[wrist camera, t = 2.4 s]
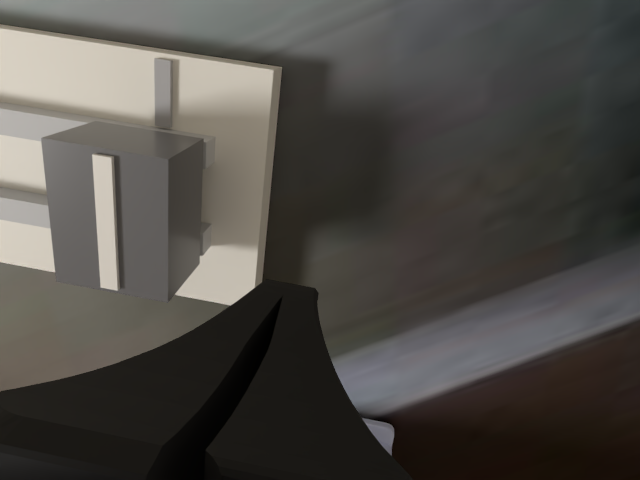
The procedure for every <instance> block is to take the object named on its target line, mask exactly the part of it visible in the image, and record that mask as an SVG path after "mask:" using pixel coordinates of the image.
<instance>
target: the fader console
mask: <svg viewBox="0 0 640 480" xmlns="http://www.w3.org/2000/svg"><path fill="white" fill-rule="evenodd" d="M281 75H282V67H278V66H272V65H265V64H259V63H252V62H245V61H239V60H232V59H226V58H219V57H212V56H206V55H199V54H193V53H186V52H180V51H173V50H166V49H160V48H153V47H147V46H140V45H134V44H127V43H120V42H114V41H107V40H101V39H94V38H87V37H81V36H74V35H68V34H61V33H55V32H48V31H41V30H35V29H28V28H22V27H15V26H8V25H2V24H0V262H3V263H8V264H13V265H19V266H24V267H29V268H35V269H40V270H45V271H51V272H55V266H54V257H53V247H52V238H51V228H50V219H49V209H48V200H47V190H46V181H45V172H44V162H43V153H42V143H41V138H42V137H45V136H48V135H52V134H55V133H58V132H61V131H65V130H68V129H71V128H74V127H78V126H81V125H84V124H87V123H91V122H94V121H99V122H106V123H112V124H118V125H124V126H130V127H136V128H142V129H148V130H154V131H160V132H167V133H173V134H179V135H185V136H191V137H197V138H203V139H204V146H203V176H202V207H201V237H200V264H199V265H198V266H197V268H196V269H195V270H194V271H193V273H192V274H191V275H190V276H189V277H188V279H187V280H186V281H185V282H184V284H183V285H182V286H181V287H180V289H179V290H178V291H177V292H176V293H175V295H179V296H184V297H190V298H195V299H200V300H206V301H211V302H216V303H222V304H227V305H232V304H234V303H235V302H236V301H238V300H239V299H240V298H242V297H243V296H244V295H246V294H247V293H248V292H250V291H251V290H252V289H254V288H255V287H256V286H258V285H259V284H260V283H262V277H263V267H264V256H265V245H266V235H267V224H268V213H269V203H270V192H271V182H272V171H273V160H274V150H275V139H276V128H277V118H278V107H279V96H280V86H281Z"/></svg>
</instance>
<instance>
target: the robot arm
mask: <svg viewBox="0 0 640 480" xmlns="http://www.w3.org/2000/svg"><path fill="white" fill-rule="evenodd" d="M317 300H318V292H317V290H316V289H315V288H311V287H306V286H300V285H295V284H289V283H284V282H278V281H273V280H267V279H266V280H265V281H263V282H262V283H260V284H259V285H258V286H256V287H255V288H254V289H252V290H251V291H250V292H248V293H247V294H246V295H244V296H243V297H242V298H240V299H239V300H238V301H236V302H235V303H234V304H232V305H231V306H229V307H228V308H226V309H225V310H224V311H222V312H221V313H219V314H218V315H216V316H215V317H213V318H212V319H210V320H208V321H207V322H205V323H204V324H202V325H200V326H199V327H197V328H195V329H194V330H192V331H190V332H188V333H186V334H184V335H183V336H181V337H179V338H177V339H175V340H172V341H170V342H168V343H166V344H164V345H162V346H160V347H157V348H155V349H153V350H150V351H148V352H145V353H142V354H140V355H137V356H134V357H132V358H129V359H127V360H124V361H121V362H119V363H116V364H113V365H110V366H106V367H103V368H100V369H97V370H94V371H90V372H86V373H83V374H79V375H75V376H72V377H68V378H64V379H60V380H55V381H50V382H45V383H41V384H36V385H31V386H26V387H21V388H16V389H11V390H5V391H1V392H0V480H412V478H411V476H410V475H409V474H408V473H407V472H406V471H405V470H404V469H403V468H402V466H401V465H400V464H399V463H398V462H397V461H396V460H395V459H394V458H393V457H392V443H393V439H394V428H393V426H392V425H390V424H388V423H385V422H380V421H375V420H370V419H365V418H361V416H360V414H359V413H358V411H357V410H356V408H355V407H354V405H353V404H352V402H351V401H350V399H349V397H348V395H347V393H346V391H345V390H344V388H343V386H342V384H341V382H340V380H339V378H338V375H337V373H336V371H335V369H334V366H333V364H332V361H331V359H330V356H329V353H328V350H327V347H326V344H325V341H324V338H323V334H322V330H321V326H320V321H319V315H318V308H317Z"/></svg>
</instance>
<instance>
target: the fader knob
mask: <svg viewBox="0 0 640 480" xmlns="http://www.w3.org/2000/svg"><path fill="white" fill-rule="evenodd" d="M41 143H42V153H43V162H44V172H45V181H46V190H47V200H48V209H49V219H50V228H51V238H52V247H53V257H54V266H55V275H56V282H61V283H66V284H72V285H77V286H82V287H87V288H93V289H98V290H103V291H109V292H114V293H119V294H125V295H130V296H135V297H140V298H146V299H151V300H156V301H162V302H167V303H168V302H169V301H170V300H171V298H172V297H173V296H174V295H175V293H176V292H177V291H178V290H179V289H180V287H181V286H182V285H183V284H184V282H185V281H186V280H187V279H188V277H189V276H190V275H191V274H192V273H193V271H194V270H195V269H196V268H197V266H198V265H199V264H200V237H201V207H202V176H203V146H204V139H203V138H197V137H191V136H185V135H179V134H173V133H167V132H160V131H154V130H148V129H142V128H136V127H130V126H124V125H118V124H112V123H106V122H99V121H94V122H91V123H87V124H84V125H81V126H78V127H74V128H71V129H68V130H65V131H61V132H58V133H55V134H52V135H48V136H45V137H42V138H41Z"/></svg>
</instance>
